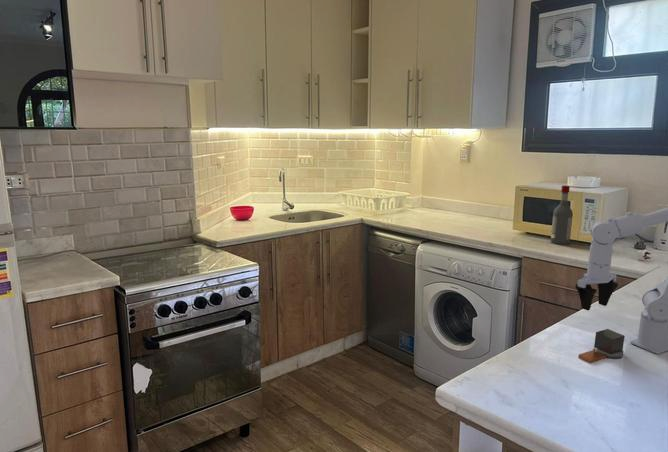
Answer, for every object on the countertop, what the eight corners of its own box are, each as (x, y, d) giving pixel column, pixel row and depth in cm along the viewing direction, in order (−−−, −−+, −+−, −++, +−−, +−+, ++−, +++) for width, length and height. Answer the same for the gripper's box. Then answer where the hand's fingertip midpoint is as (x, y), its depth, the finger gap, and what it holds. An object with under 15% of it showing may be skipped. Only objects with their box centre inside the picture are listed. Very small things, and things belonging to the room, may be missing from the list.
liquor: (569, 241, 262) (575, 185, 256) (569, 245, 254) (575, 187, 248) (550, 239, 266) (556, 184, 259) (550, 243, 258) (556, 186, 251)
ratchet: (604, 345, 142) (605, 333, 141) (628, 355, 136) (630, 343, 135) (572, 355, 136) (573, 342, 135) (596, 366, 130) (598, 353, 129)
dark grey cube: (605, 343, 140) (607, 328, 139) (622, 350, 136) (624, 335, 135) (594, 347, 138) (596, 332, 137) (610, 354, 134) (613, 339, 133)
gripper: (602, 256, 149) (597, 298, 152) (570, 262, 143) (565, 306, 145) (625, 262, 143) (619, 306, 146) (592, 268, 136) (587, 314, 139)
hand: (594, 307), depth 145 cm, fingers open, 7 cm apart
